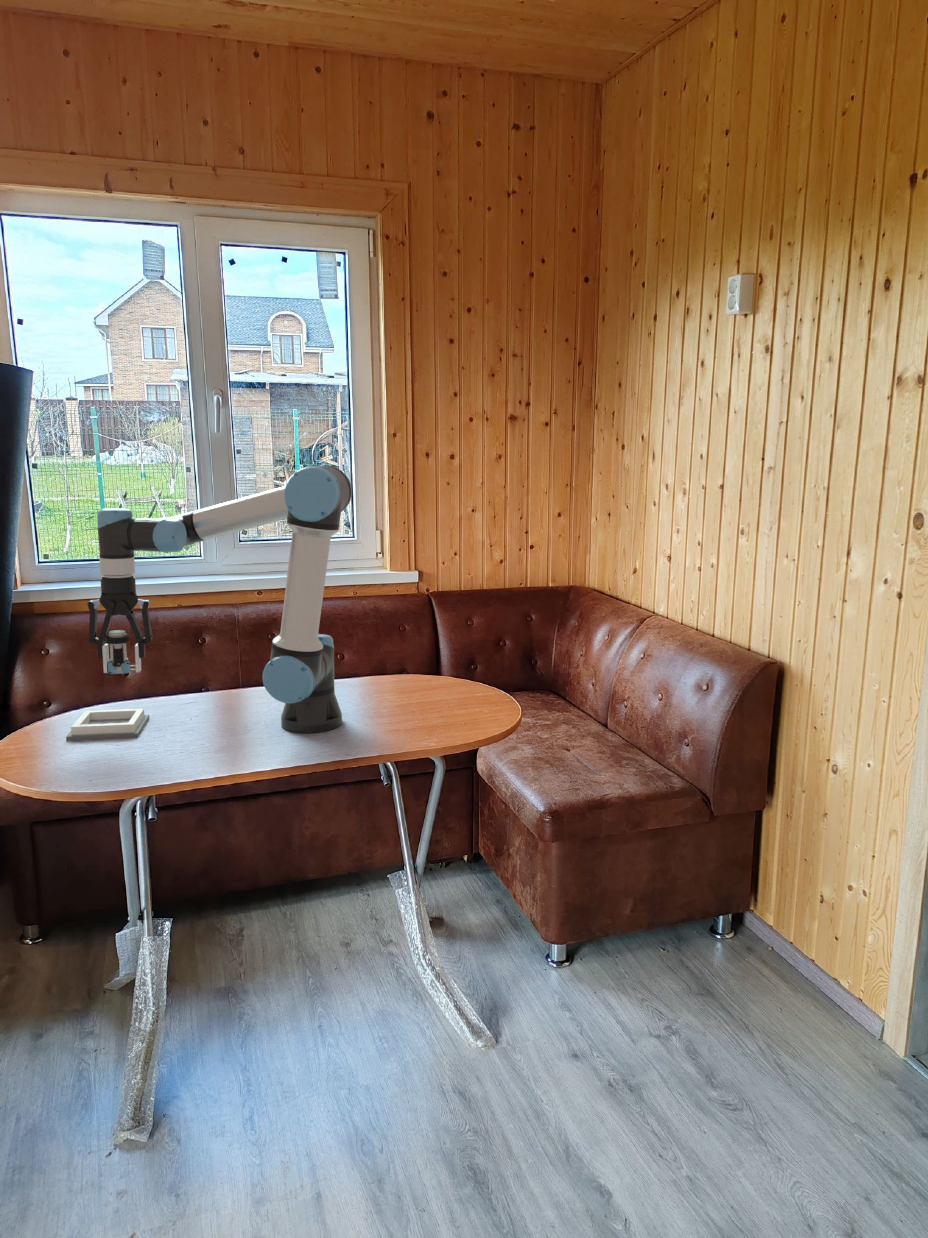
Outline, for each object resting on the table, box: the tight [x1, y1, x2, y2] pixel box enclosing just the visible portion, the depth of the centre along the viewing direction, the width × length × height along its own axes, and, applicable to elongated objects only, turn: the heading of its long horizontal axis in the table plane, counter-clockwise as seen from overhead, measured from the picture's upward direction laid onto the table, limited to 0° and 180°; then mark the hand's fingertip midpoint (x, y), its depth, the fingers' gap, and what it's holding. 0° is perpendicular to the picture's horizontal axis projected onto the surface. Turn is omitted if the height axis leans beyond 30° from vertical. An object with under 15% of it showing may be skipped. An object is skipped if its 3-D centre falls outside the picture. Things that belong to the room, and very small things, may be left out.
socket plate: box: [65, 708, 150, 742], centre depth 207 cm, size 16×15×3 cm
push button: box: [105, 629, 136, 675], centre depth 200 cm, size 7×5×10 cm
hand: (122, 671), depth 201 cm, fingers closed on push button, 6 cm apart
